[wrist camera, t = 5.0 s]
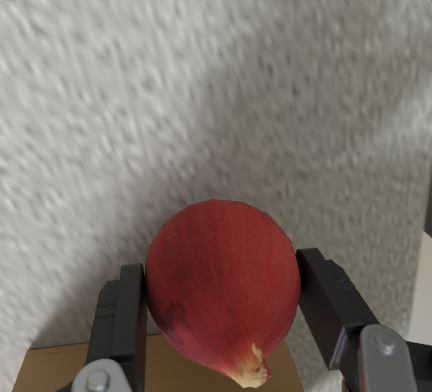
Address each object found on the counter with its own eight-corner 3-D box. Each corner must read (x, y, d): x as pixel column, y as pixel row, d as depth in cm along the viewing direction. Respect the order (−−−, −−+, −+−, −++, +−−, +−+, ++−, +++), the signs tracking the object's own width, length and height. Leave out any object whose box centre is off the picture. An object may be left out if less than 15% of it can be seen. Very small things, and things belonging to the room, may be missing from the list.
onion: (202, 281, 18) (228, 456, 11) (120, 220, 15) (89, 405, 8) (289, 219, 16) (380, 375, 10) (218, 139, 14) (276, 281, 7)
